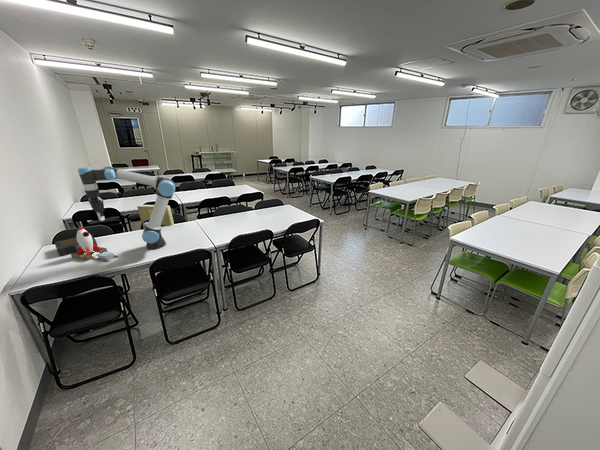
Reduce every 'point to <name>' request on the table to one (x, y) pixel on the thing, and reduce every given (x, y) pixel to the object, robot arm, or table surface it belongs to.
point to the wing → (106, 255)
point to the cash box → (69, 246)
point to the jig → (88, 257)
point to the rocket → (85, 242)
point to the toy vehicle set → (147, 210)
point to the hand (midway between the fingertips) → (102, 220)
